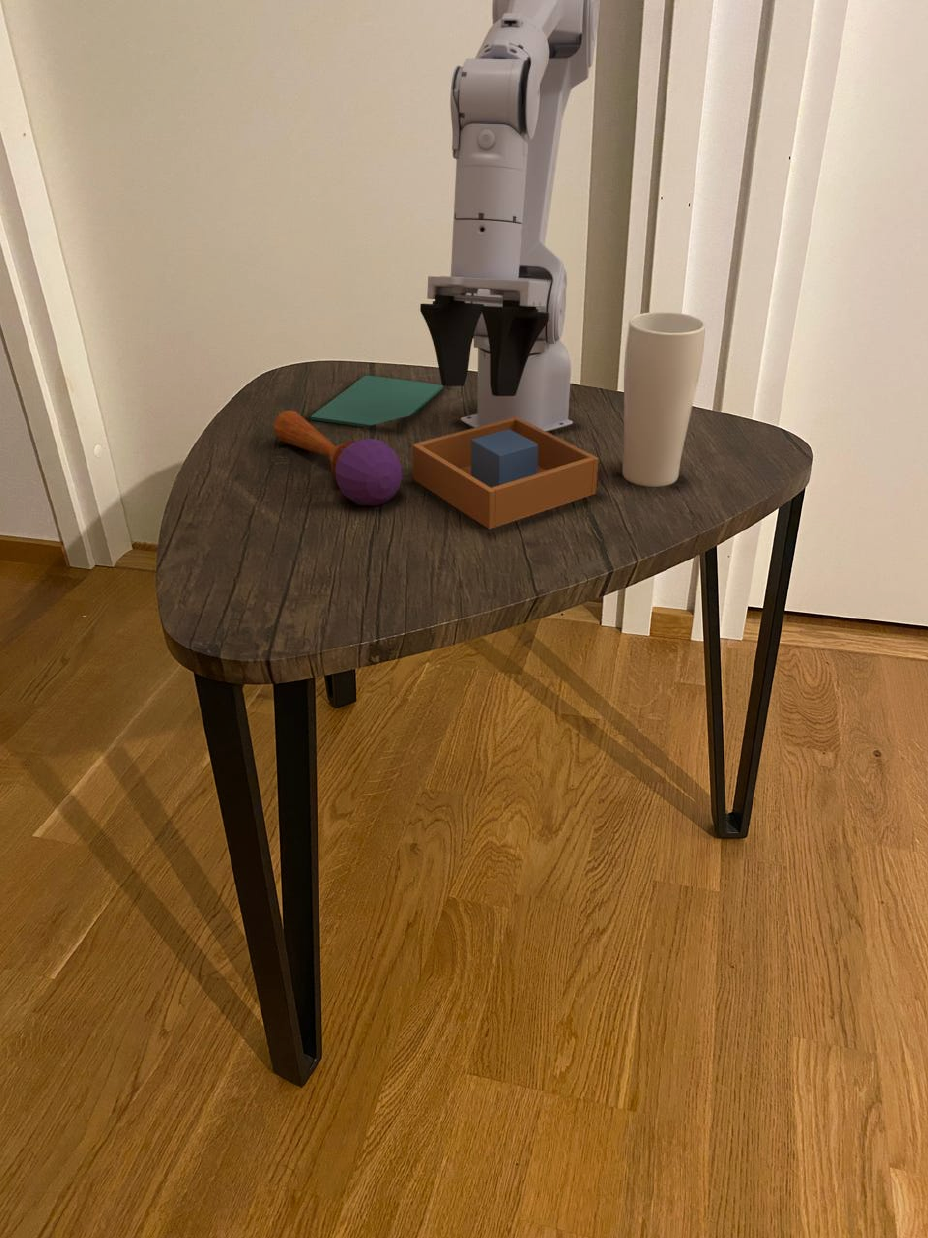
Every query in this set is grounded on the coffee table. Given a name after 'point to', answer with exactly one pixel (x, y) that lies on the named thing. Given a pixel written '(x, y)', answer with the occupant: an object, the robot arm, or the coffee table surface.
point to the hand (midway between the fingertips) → (477, 390)
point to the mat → (377, 401)
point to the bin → (556, 483)
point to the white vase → (659, 393)
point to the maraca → (348, 460)
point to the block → (503, 458)
